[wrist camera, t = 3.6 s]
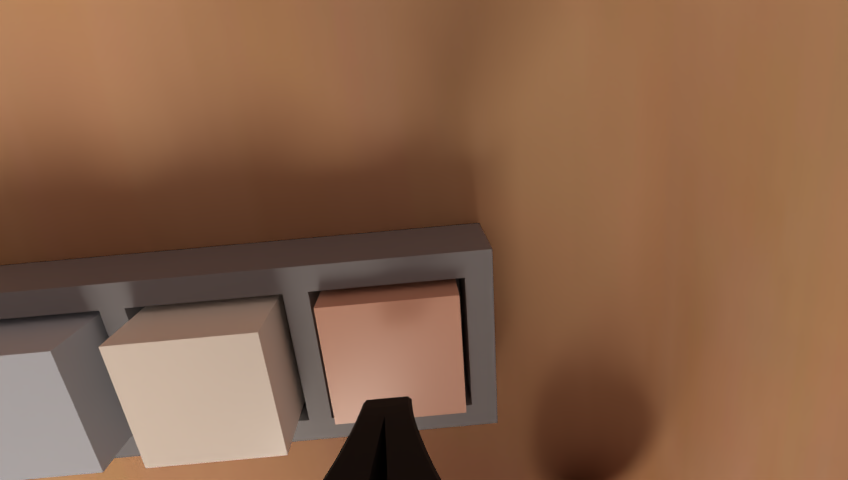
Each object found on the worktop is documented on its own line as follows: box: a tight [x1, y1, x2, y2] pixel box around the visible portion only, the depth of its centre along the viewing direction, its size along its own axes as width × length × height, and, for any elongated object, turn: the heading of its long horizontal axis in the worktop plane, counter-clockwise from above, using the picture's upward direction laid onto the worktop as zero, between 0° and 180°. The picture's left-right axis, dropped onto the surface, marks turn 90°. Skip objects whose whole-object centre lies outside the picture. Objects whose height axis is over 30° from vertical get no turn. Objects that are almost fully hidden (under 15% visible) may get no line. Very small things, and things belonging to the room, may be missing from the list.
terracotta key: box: [314, 279, 466, 425], centre depth 17 cm, size 5×5×3 cm
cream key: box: [99, 294, 305, 468], centre depth 16 cm, size 5×5×3 cm
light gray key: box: [0, 311, 132, 480], centre depth 16 cm, size 5×5×3 cm
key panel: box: [0, 223, 498, 458], centre depth 18 cm, size 21×8×3 cm, turn 95°
